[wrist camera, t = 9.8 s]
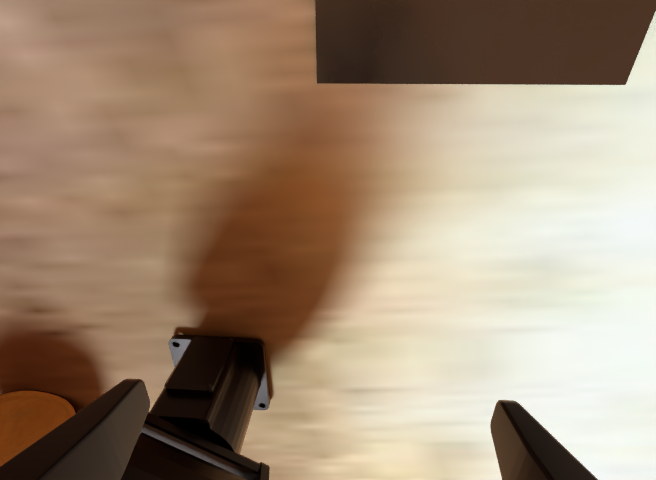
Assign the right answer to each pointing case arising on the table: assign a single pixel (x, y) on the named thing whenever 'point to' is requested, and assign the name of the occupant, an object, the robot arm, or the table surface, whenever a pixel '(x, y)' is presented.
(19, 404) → the log
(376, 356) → the table surface
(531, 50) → the dock
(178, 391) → the robot arm
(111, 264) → the table surface
